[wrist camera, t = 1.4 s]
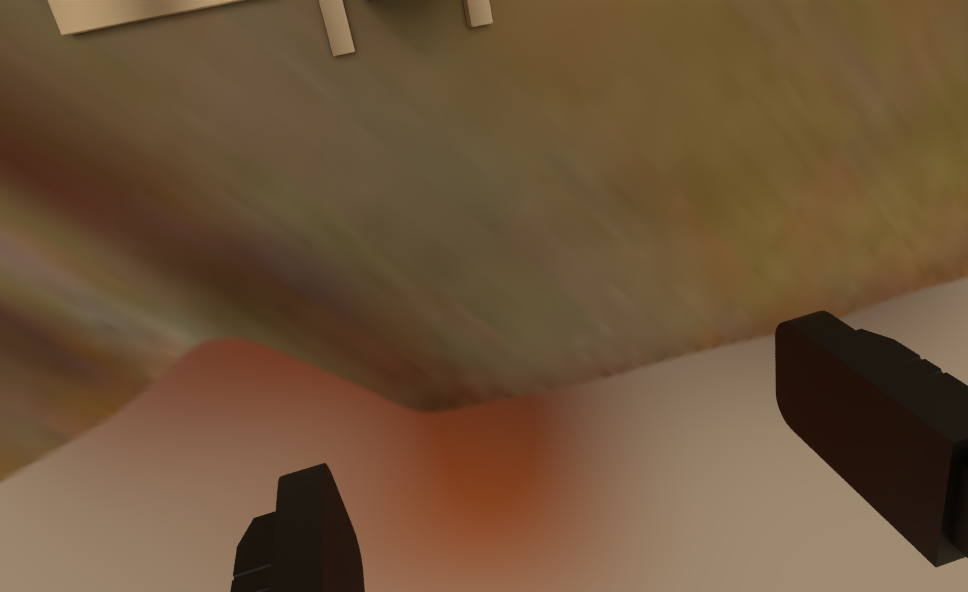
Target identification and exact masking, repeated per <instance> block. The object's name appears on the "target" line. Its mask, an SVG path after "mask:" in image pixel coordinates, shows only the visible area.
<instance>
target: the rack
mask: <svg viewBox="0 0 968 592" xmlns="http://www.w3.org/2000/svg"><path fill="white" fill-rule="evenodd" d="M240 1H245V0H48V2H49V5H50V7H51V10H52V12H53V15H54V17H55V20H56V22H57V25H58V27H59V30H60V32H61V35H74V34H79V33H84V32H89V31H94V30H99V29H104V28H109V27H114V26H119V25H124V24H129V23H134V22H139V21H144V20H149V19H155V18H160V17H165V16H170V15H175V14H180V13H185V12H190V11H195V10H200V9H205V8H210V7H215V6H220V5H225V4H230V3H235V2H240ZM319 3H320V7H321V11H322V15H323V18H324V22H325V26H326V30H327V34H328V38H329V42H330V45H331V49H332V53H333V56H337V55H342V54H346V53H351V52H355V49H354V45H353V41H352V37H351V33H350V29H349V25H348V21H347V17H346V13H345V9H344V5H343V1H342V0H319ZM463 4H464V10H465V15H466V20H467V26H468V27H476V26H480V25H485V24H490V23H493V21H492V15H491V9H490V3H489V0H463Z"/></svg>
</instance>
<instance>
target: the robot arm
mask: <svg viewBox="0 0 968 592" xmlns="http://www.w3.org/2000/svg"><path fill="white" fill-rule="evenodd" d="M775 347H776V348H775V350H776V351H775V352H776V353H775V355H776V356H775V358H776V399H777V403H778V407H779V409H780V412H781V414H782V416H783V418H784V420H785V421H786V423H787V424H788V426H789V427H790V428H791V429H792V430H793V431H794V432H795V433H796V434H797V435H798V436H799V437H800V438H801V439H802V440H803V441H804V442H805V443H806V444H808V446H809V447H810V448H812V449H813V450H814V451H815V452H816V453H817V454H818V455H819V456H820V457H821V458H822V459H823V460H824V461H825V462H826V463H827V464H828V465H829V466H830V467H831V468H832V469H834V471H836V472H837V473H838V474H839V475H840V476H841V477H842V478H843V479H844V480H845V481H846V482H847V483H848V484H849V485H850V486H851V487H852V488H853V489H854V490H856V492H857V493H859V494H860V495H861V496H862V497H863V498H864V499H865V500H866V501H867V502H868V503H869V504H870V505H871V506H872V507H873V508H874V509H875V510H876V511H877V512H878V513H879V514H880V515H881V516H883V517H884V518H885V519H886V520H887V521H888V522H889V523H890V524H891V525H892V526H893V527H894V528H895V529H896V530H897V531H898V532H899V533H900V534H901V535H902V536H903V537H904V538H906V539H907V540H908V541H909V542H910V543H911V544H912V545H913V546H914V547H915V548H916V549H917V550H918V551H919V552H920V553H921V554H922V555H923V556H924V557H926V558H927V560H928V561H930V562H931V563H932V564H933V565H934V566H935V567H939V566H941V565H944V564H947V563H950V562H953V561H956V560H958V559H961V558H964V557H967V558H968V386H967V385H966V384H964V383H962V382H961V381H959V380H958V379H956V378H955V377H953V376H951V375H950V374H948V373H942V371H941V369H940V368H939V367H937V366H935V365H934V364H932V363H931V362H929V361H927V360H926V359H923V360H922V359H921V358H920V355H918V354H916V353H915V352H913V351H911V350H910V349H908V348H907V347H905V346H904V345H902V344H901V343H899V342H897V341H896V340H894V339H891V338H888V337H885V336H882V335H879V334H875V333H872V332H870V331H866V330H863V329H859V330H854V329H853V328H851V327H850V326H848V325H847V324H845V323H844V322H842V321H841V320H839V319H838V318H836V317H835V316H833V315H832V314H830V313H828V312H826V311H818V312H815V313H812V314H808V315H805V316H802V317H798V318H795V319H792V320H788V321H785V322H782V323H780V324H779V325H778V326H777V329H776V333H775ZM233 576H234V580H233V581H232V586H231V592H365V590H364V577H363V566H362V559H361V553H360V549H359V545H358V541H357V537H356V534H355V531H354V529H353V526H352V524H351V521H350V519H349V516H348V513H347V511H346V508H345V506H344V503H343V501H342V498H341V496H340V494H339V491H338V488H337V486H336V483H335V481H334V478H333V476H332V474H331V471H330V470H329V468H328V466H327V464H326V463H323V464H320V465H316V466H313V467H310V468H307V469H303V470H300V471H297V472H293V473H290V474H287V475H284V476H281V477H280V478H279V481H278V490H277V502H276V511H275V512H272V513H269V514H265V515H262V516H259V517H256V518H254V519H253V520H252V523H251V524H250V526H249V527H248V529H247V531H246V532H245V534H244V536H243V537H242V539H241V541H240V543H239V544H238V546H237V551H236V558H235V565H234V572H233Z"/></svg>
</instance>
